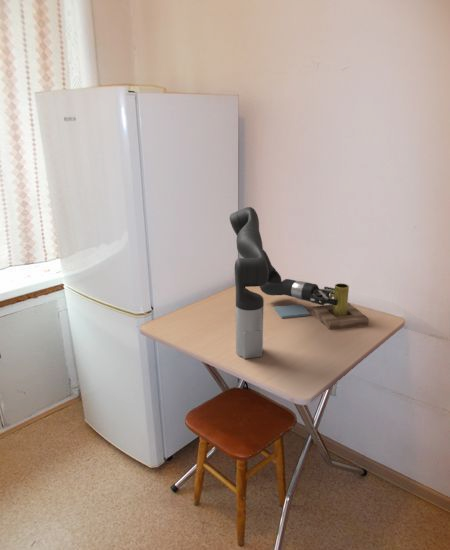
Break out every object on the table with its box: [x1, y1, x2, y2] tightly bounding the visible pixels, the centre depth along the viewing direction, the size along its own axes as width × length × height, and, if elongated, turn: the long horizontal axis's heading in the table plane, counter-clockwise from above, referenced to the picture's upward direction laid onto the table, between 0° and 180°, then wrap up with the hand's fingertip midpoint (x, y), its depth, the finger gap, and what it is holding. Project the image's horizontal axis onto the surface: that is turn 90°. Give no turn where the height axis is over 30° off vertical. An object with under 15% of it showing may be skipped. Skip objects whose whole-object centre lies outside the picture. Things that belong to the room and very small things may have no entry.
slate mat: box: [273, 303, 311, 319], centre depth 176 cm, size 10×12×1 cm
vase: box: [332, 282, 350, 317], centre depth 167 cm, size 6×6×14 cm
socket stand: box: [312, 302, 370, 331], centre depth 169 cm, size 16×16×3 cm
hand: (341, 299), depth 166 cm, fingers open, 8 cm apart
